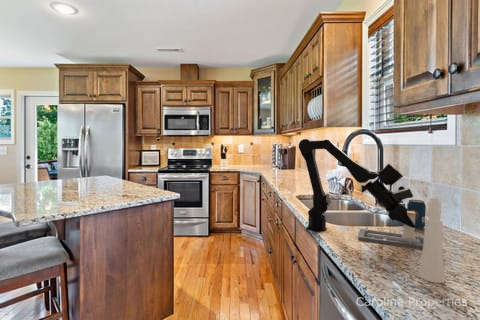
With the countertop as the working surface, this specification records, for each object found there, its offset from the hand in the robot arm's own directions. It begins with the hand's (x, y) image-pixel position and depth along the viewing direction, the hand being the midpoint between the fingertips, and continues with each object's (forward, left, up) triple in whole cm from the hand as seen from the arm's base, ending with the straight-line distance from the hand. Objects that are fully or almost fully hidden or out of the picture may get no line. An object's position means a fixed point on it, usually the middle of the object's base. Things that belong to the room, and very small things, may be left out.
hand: (413, 225), depth 101 cm
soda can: (-7, +23, -7) cm, 25 cm away
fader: (-1, -1, -5) cm, 5 cm away
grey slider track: (-6, -3, -7) cm, 9 cm away
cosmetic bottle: (+14, -27, -7) cm, 31 cm away
